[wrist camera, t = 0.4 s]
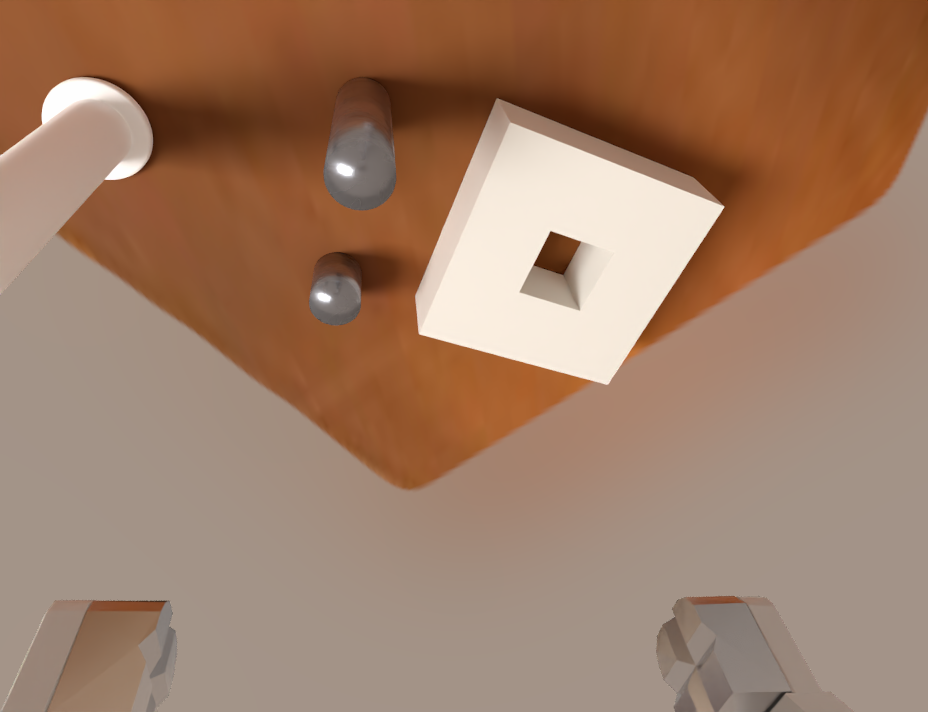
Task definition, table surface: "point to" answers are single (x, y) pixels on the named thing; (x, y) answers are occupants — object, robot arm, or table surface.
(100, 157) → the candle
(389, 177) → the long pin
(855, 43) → the table surface
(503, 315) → the hole block
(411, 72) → the table surface
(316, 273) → the short pin
